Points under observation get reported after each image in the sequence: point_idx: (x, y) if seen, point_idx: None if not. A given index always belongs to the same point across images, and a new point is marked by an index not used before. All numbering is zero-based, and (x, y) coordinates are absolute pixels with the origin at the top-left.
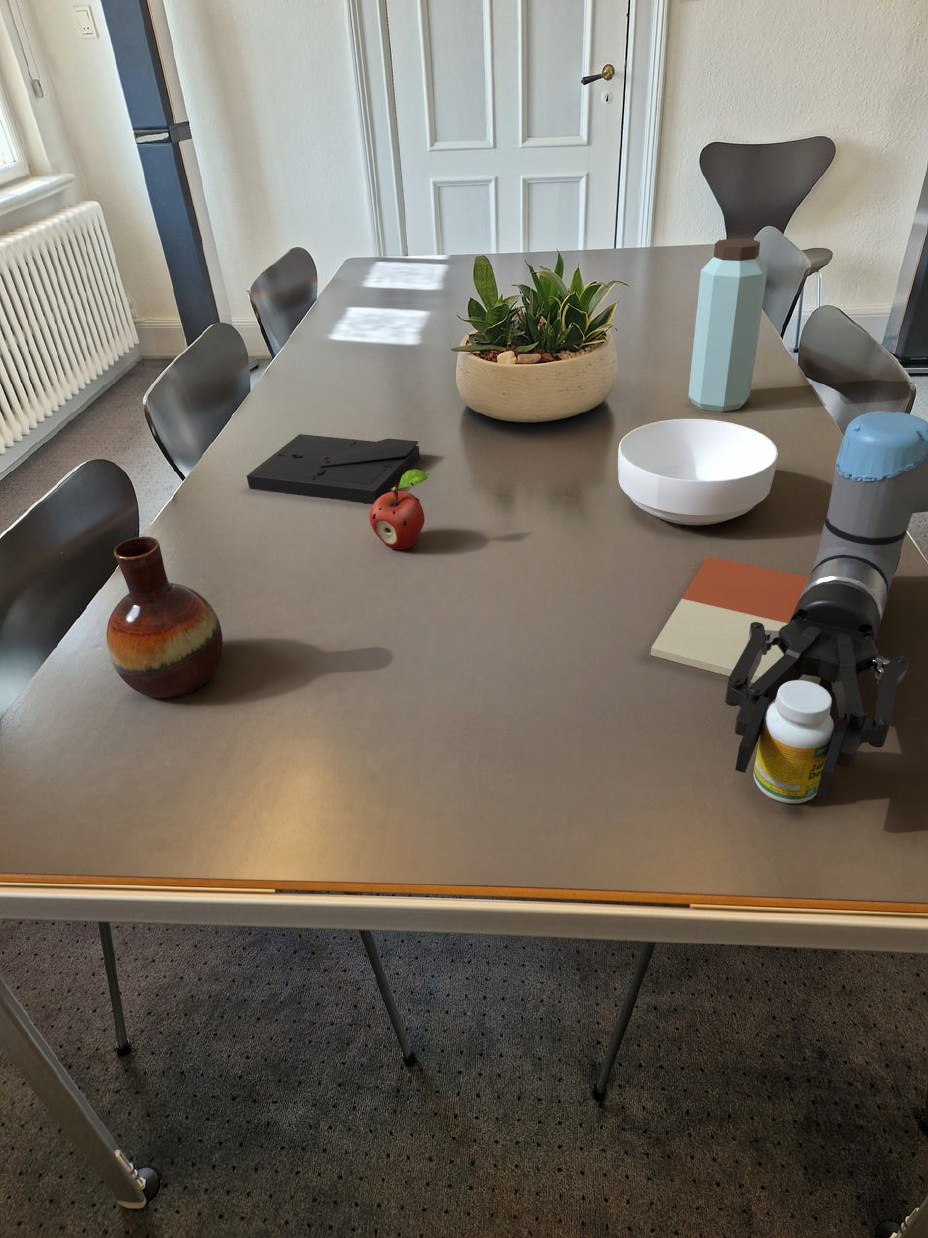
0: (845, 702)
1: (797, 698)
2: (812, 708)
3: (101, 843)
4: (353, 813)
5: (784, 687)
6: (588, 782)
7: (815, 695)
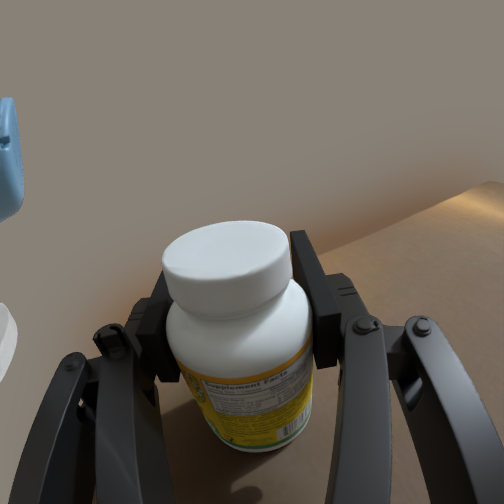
0: (135, 398)
1: (237, 236)
2: (202, 231)
3: (492, 188)
4: (478, 217)
5: (276, 242)
6: (438, 289)
7: (198, 252)
